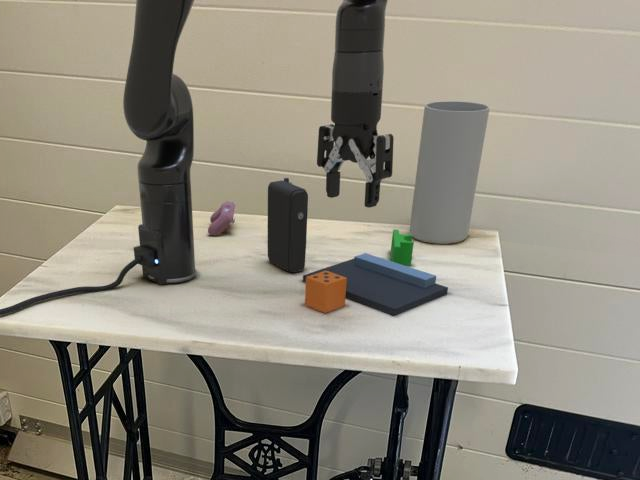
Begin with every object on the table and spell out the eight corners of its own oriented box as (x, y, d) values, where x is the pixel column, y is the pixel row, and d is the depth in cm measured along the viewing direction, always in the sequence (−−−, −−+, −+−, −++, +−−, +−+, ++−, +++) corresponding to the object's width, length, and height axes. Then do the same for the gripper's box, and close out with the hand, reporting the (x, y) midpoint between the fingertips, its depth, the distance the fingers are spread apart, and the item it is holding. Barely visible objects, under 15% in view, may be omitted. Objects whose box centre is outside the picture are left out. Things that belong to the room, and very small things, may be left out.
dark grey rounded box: (308, 271, 141) (311, 189, 132) (290, 275, 140) (293, 192, 130) (282, 258, 147) (284, 178, 138) (265, 261, 146) (266, 181, 137)
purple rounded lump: (224, 243, 160) (238, 213, 156) (205, 233, 158) (219, 203, 155) (226, 230, 167) (240, 201, 164) (208, 220, 166) (221, 191, 162)
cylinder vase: (429, 224, 166) (447, 99, 151) (478, 235, 159) (501, 106, 144) (397, 236, 159) (412, 106, 144) (446, 249, 152) (468, 114, 137)
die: (325, 313, 125) (326, 284, 122) (304, 305, 128) (305, 276, 125) (345, 305, 127) (347, 277, 124) (324, 298, 130) (325, 269, 127)
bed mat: (393, 315, 124) (395, 299, 122) (302, 281, 137) (303, 266, 135) (447, 293, 132) (449, 278, 130) (356, 263, 145) (357, 249, 143)
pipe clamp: (411, 271, 141) (414, 247, 139) (391, 270, 142) (394, 247, 139) (408, 252, 150) (411, 229, 147) (390, 251, 150) (393, 228, 148)
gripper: (306, 85, 111) (304, 198, 120) (374, 93, 102) (367, 214, 111) (341, 80, 114) (337, 190, 124) (410, 87, 105) (400, 205, 115)
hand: (351, 201), depth 118 cm, fingers open, 8 cm apart
